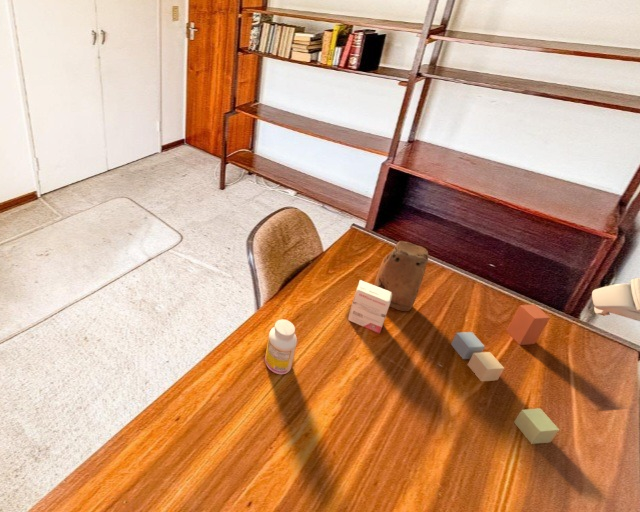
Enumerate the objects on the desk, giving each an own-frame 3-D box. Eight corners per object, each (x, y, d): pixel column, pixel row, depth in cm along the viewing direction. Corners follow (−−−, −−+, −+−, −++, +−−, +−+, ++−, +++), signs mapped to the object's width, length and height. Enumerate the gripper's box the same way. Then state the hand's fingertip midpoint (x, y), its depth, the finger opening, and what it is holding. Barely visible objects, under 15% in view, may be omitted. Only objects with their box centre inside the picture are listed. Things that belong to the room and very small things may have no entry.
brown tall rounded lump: (410, 299, 120) (430, 247, 111) (410, 316, 114) (431, 262, 105) (372, 286, 125) (388, 234, 116) (370, 301, 118) (387, 249, 110)
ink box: (382, 322, 112) (393, 291, 106) (379, 334, 108) (391, 303, 103) (350, 309, 116) (359, 278, 111) (347, 320, 112) (356, 289, 107)
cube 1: (531, 420, 88) (540, 408, 86) (550, 442, 84) (559, 429, 82) (513, 422, 88) (521, 409, 86) (531, 444, 84) (540, 431, 82)
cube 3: (466, 343, 106) (471, 331, 104) (478, 358, 102) (485, 346, 100) (450, 344, 106) (456, 332, 104) (462, 359, 102) (469, 347, 100)
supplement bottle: (276, 347, 103) (284, 311, 98) (296, 366, 98) (305, 330, 93) (258, 360, 99) (265, 323, 94) (278, 380, 95) (286, 343, 89)
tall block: (520, 330, 111) (535, 304, 107) (534, 344, 107) (550, 317, 103) (505, 331, 111) (520, 305, 106) (519, 345, 107) (534, 318, 102)
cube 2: (483, 363, 101) (489, 351, 99) (497, 380, 97) (504, 368, 95) (467, 364, 101) (473, 352, 99) (480, 381, 96) (487, 369, 95)
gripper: (752, 309, 73) (673, 319, 85) (627, 274, 77) (568, 288, 89) (765, 345, 70) (682, 350, 82) (634, 307, 74) (572, 317, 86)
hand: (622, 318), depth 86 cm, fingers open, 8 cm apart
